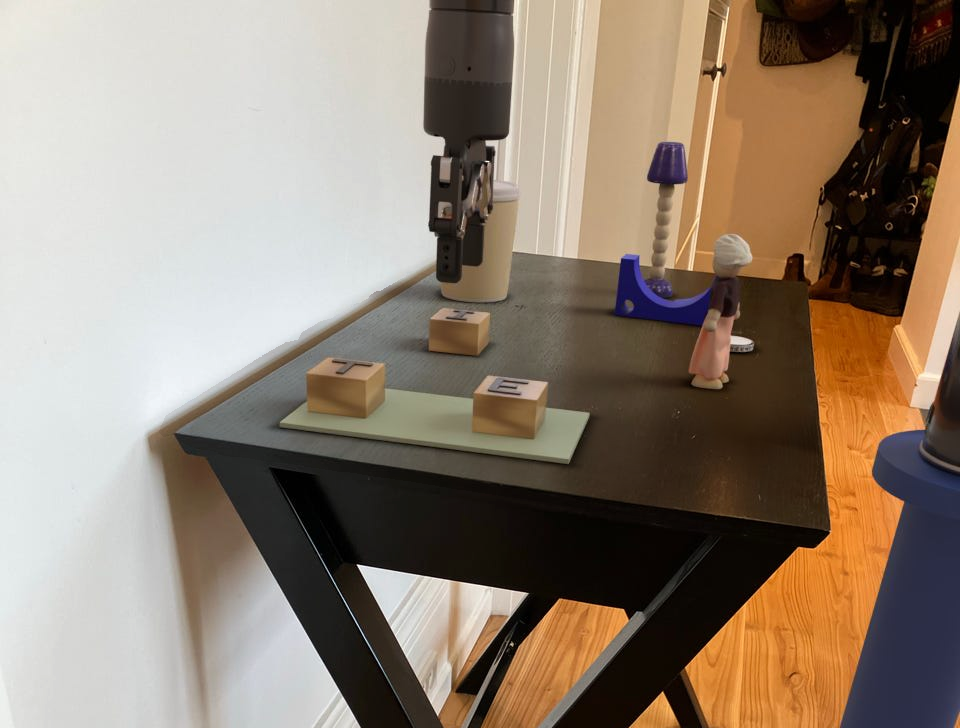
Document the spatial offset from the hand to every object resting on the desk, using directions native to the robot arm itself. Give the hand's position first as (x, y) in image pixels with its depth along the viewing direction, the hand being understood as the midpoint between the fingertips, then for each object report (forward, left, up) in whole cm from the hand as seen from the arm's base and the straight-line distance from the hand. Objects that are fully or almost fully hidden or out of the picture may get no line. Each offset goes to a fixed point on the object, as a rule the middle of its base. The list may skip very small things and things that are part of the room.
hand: (460, 273), depth 94 cm
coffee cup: (+4, -23, -7) cm, 24 cm away
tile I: (0, 0, -7) cm, 7 cm away
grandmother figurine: (-24, +3, -7) cm, 25 cm away
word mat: (-4, +22, -7) cm, 23 cm away
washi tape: (-26, -11, -7) cm, 29 cm away
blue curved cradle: (-19, -22, -7) cm, 30 cm away
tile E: (-10, +22, -7) cm, 25 cm away
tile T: (+3, +22, -7) cm, 23 cm away
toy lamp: (-16, -33, -7) cm, 37 cm away
